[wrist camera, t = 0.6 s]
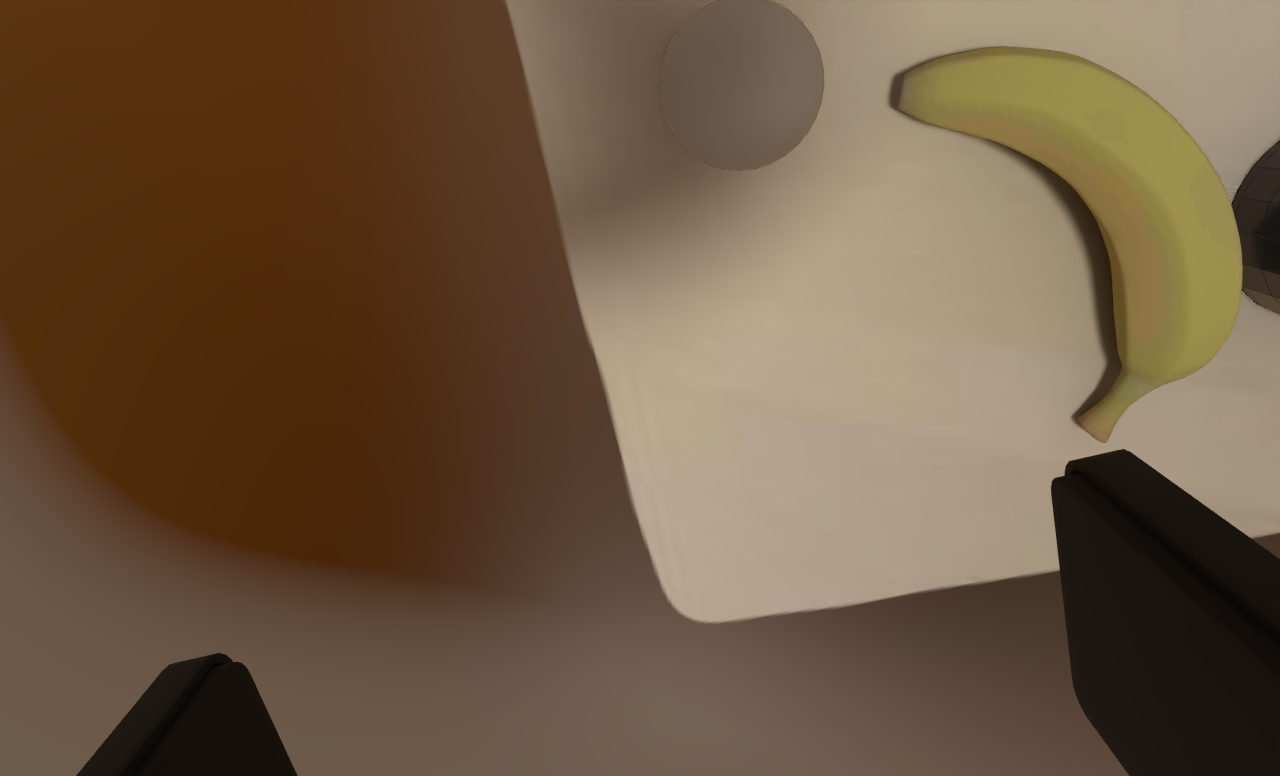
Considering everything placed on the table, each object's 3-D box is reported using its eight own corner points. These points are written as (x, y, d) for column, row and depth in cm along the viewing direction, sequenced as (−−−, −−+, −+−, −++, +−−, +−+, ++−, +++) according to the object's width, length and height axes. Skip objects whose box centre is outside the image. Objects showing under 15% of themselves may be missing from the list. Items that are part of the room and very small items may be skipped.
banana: (1278, 3, 32) (1243, 460, 41) (1225, -10, 37) (1203, 402, 46) (895, 79, 36) (935, 480, 45) (891, 59, 41) (928, 425, 50)
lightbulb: (740, -15, 39) (779, -54, 28) (812, 104, 40) (874, 108, 30) (627, 69, 40) (625, 61, 30) (702, 182, 42) (724, 212, 31)
